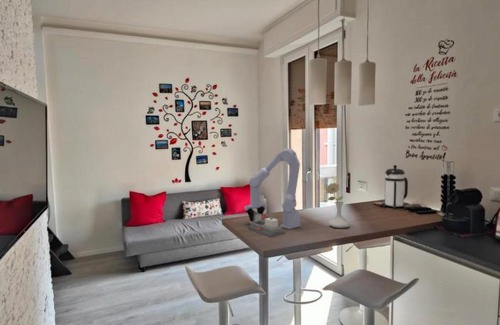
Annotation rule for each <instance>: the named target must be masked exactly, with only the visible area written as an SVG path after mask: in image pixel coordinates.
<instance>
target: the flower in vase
mask: <svg viewBox="0 0 500 325" xmlns="http://www.w3.org/2000/svg"><path fill="white" fill-rule="evenodd" d="M339 190H340V184H339V183H337V182H331V183H329V184H328V185H327V186H326V188H325V191H326V193H327V194H330V195H331V194H334V196H330V197H328V199H327V200H330V201H334V200H335V202H334V203H335V206H336V215H335V216H334V217H333V218H331V219H330V220H329V221H328V225H329V226H330V227H333V228H338V229H339V228H341V229H342V228H348V227H349V226H350V222H349V221H348V220H347V219H346V218H345V217H344V216H343V215H342V208H343V206H344V201H342V200H343V198H344V195H342V196H339V197H338V198H336V194H335V193H337V192H338V191H339Z"/></svg>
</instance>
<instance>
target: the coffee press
mask: <svg viewBox="0 0 500 325" xmlns="http://www.w3.org/2000/svg"><path fill="white" fill-rule="evenodd" d="M397 167H398V165H396V164H394V165H393V168H387V169H386V170H385V171H384V174H385V177H384V202H383V204H382V207H384V208H385V206H389V207H393V210H397V209H396V207H402V208H403V207H405V208H406V205H404V202H405V199H406V198H407V197H408V192H409V191H408V190H409V188H408V187H409V181H408V179H407V177H405V176H406V173H405V170H403V169H401V168H397Z"/></svg>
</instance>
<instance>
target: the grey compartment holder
mask: <svg viewBox="0 0 500 325" xmlns="http://www.w3.org/2000/svg"><path fill="white" fill-rule="evenodd" d="M249 224H250V225H248V226H247V229H248V230H249V231H253V232H255V233H258V234H261V235H263V236H266V237H269V238H272V237H277V236H281V235H284V234H286V233H285V231H286V230H283V227H281V226H280V225H279V219H278V218H274V217H272V216H270V217H266V218H264V220H262V221H261V220H259V221H254V222H250V221H249Z"/></svg>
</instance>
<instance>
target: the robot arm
mask: <svg viewBox="0 0 500 325" xmlns="http://www.w3.org/2000/svg"><path fill="white" fill-rule="evenodd" d="M281 162H286V163H287V164H288V166H289V167H290V168H289V176H288V183H287V188H286V195H285V198H284V201H283V203H282V205H281V206H282V224H280V225H279V226H280V227H282V228H285V229H289V230H291V229H295V228H298V227H302V225H301V214H300V211H299V210H297V209H296V207H297V200H296V198H297V197H296V196H297V195H296V194H297V193H296V192H297V187H298V179H299V174H300V173H299V172H300V166H301V163H300V160H299V158H298V155H297V152H296V151H294V149H292V148H285V149H282V150H281V151H280V152H279V153H278V154H277V155H275V156H274V158H273V159H272V160H271V161H270V162H269V163H268V164H267V165H266V166H265V167H262V168H259V169H258V172H257V173H256V174H254V175H253V177H251V178H250V179H249V181H248V185H249V186H250V204H249V205H245V206H244V210H245V211H246V213H247V215H248V218H249V222H250V221H251V222H253V216H254V210H252V209H255V208H257V212H258V213H259V214H261V215H262V214H263V212H264V210H265V208H263V207H266V204H265V203H261V204H260V195H261V185H262V183H263V182H264V181H265V180H266V179H267V178H268V177H269V176H270V173H271V170H273V169H274V168H275V167H276V166H277V165H278V164H279V163H281Z"/></svg>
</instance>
